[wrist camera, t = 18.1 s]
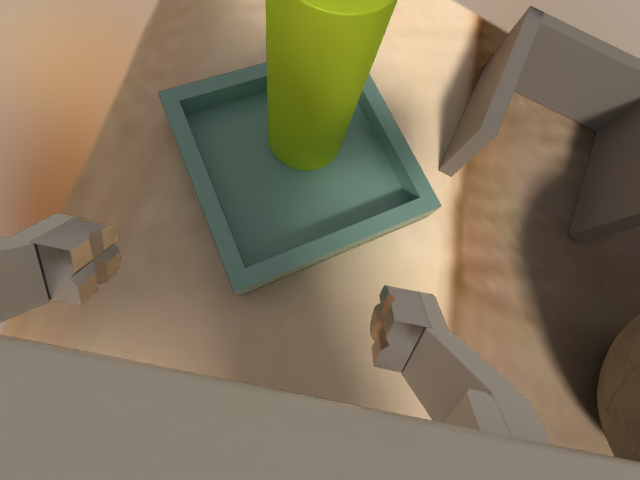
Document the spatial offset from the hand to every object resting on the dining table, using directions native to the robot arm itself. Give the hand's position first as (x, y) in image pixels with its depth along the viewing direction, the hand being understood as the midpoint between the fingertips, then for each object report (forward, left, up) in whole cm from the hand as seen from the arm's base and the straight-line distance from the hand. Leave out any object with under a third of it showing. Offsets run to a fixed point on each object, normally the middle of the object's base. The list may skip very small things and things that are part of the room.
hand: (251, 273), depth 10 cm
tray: (+6, +9, -14) cm, 18 cm away
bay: (+26, +3, -14) cm, 30 cm away
